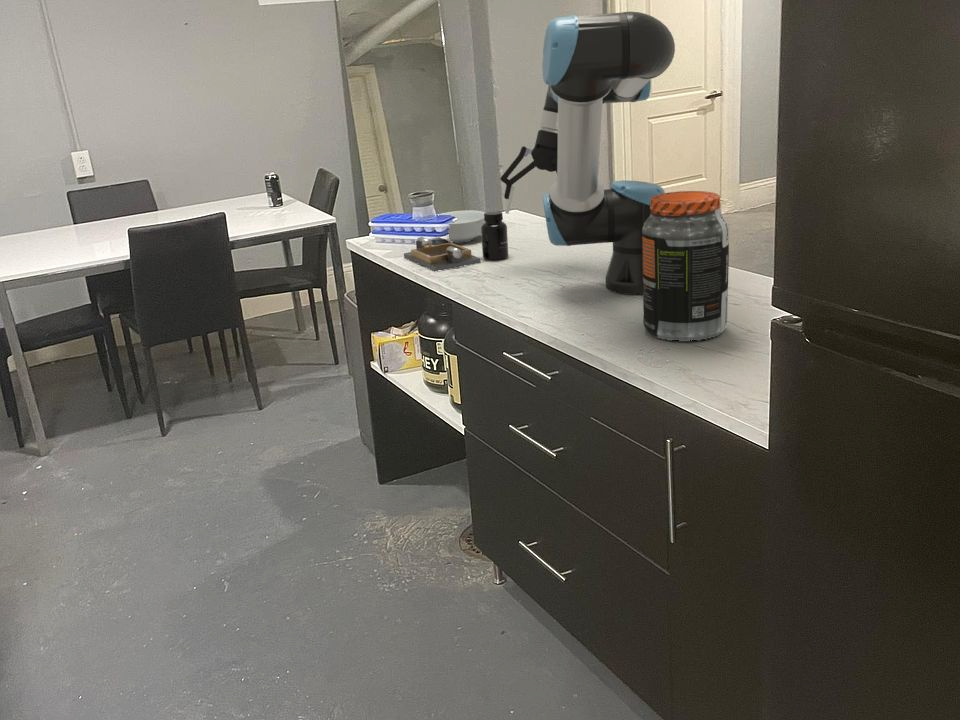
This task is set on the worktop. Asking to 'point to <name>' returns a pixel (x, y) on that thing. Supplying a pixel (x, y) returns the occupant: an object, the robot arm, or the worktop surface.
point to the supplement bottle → (494, 237)
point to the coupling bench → (440, 255)
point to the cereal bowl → (465, 225)
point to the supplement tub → (685, 266)
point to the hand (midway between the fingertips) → (533, 219)
